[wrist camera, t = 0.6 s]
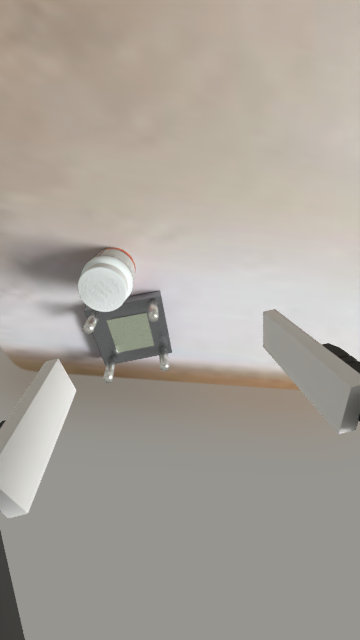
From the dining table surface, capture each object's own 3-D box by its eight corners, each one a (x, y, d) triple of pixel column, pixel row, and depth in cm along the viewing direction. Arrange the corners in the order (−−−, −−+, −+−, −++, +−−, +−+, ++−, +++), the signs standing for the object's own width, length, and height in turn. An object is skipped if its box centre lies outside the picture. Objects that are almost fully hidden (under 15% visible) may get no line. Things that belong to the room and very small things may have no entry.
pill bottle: (107, 292, 35) (91, 324, 25) (86, 255, 32) (59, 276, 22) (142, 277, 34) (140, 304, 24) (124, 239, 32) (114, 253, 22)
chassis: (87, 303, 35) (74, 325, 28) (160, 290, 36) (163, 308, 29) (107, 357, 40) (100, 386, 34) (170, 344, 41) (175, 370, 34)
